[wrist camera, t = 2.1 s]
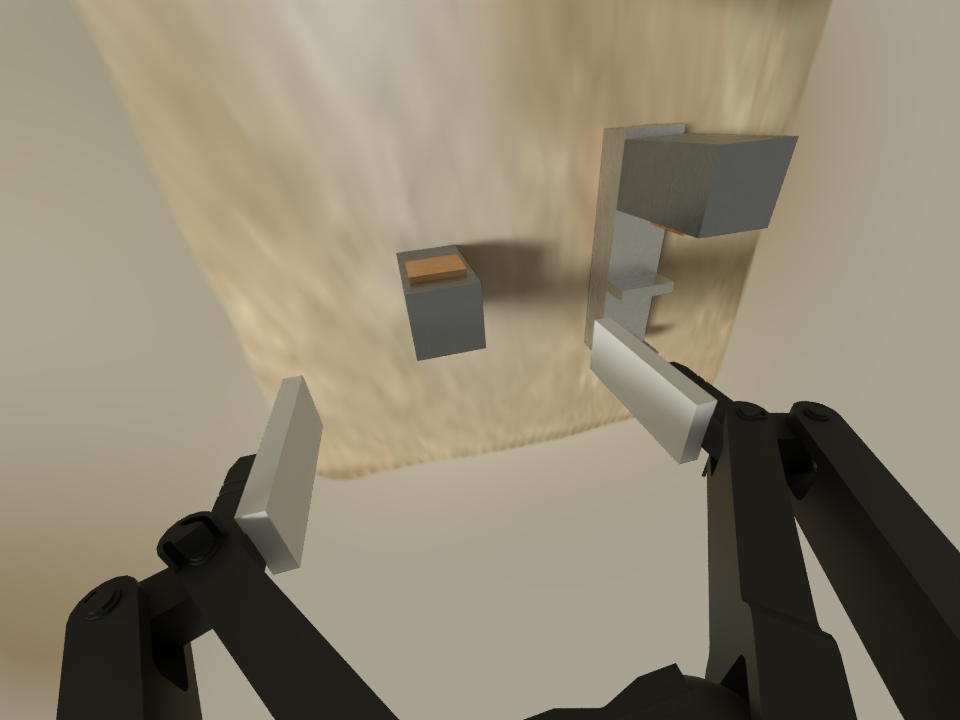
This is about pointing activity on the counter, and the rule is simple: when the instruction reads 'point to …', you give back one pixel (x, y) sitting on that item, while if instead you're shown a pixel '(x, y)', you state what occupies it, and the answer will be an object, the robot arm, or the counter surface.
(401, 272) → the grey rectangular block
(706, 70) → the counter surface
